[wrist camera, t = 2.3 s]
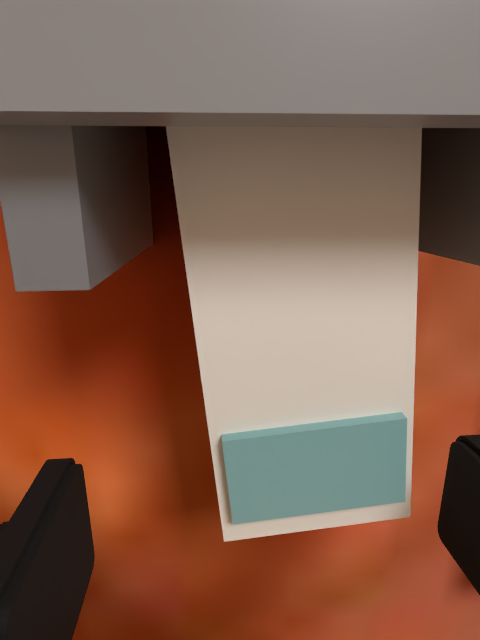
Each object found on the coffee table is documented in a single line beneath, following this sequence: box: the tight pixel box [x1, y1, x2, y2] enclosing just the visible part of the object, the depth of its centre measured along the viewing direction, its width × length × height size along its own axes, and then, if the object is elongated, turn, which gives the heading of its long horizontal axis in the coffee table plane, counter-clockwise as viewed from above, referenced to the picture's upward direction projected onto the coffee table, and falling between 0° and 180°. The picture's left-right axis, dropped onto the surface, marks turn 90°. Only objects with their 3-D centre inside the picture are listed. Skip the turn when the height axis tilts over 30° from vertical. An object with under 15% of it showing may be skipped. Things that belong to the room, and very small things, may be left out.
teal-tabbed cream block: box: [166, 126, 422, 542], centre depth 11 cm, size 5×13×6 cm, turn 6°
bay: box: [0, 0, 480, 291], centre depth 9 cm, size 10×9×8 cm
